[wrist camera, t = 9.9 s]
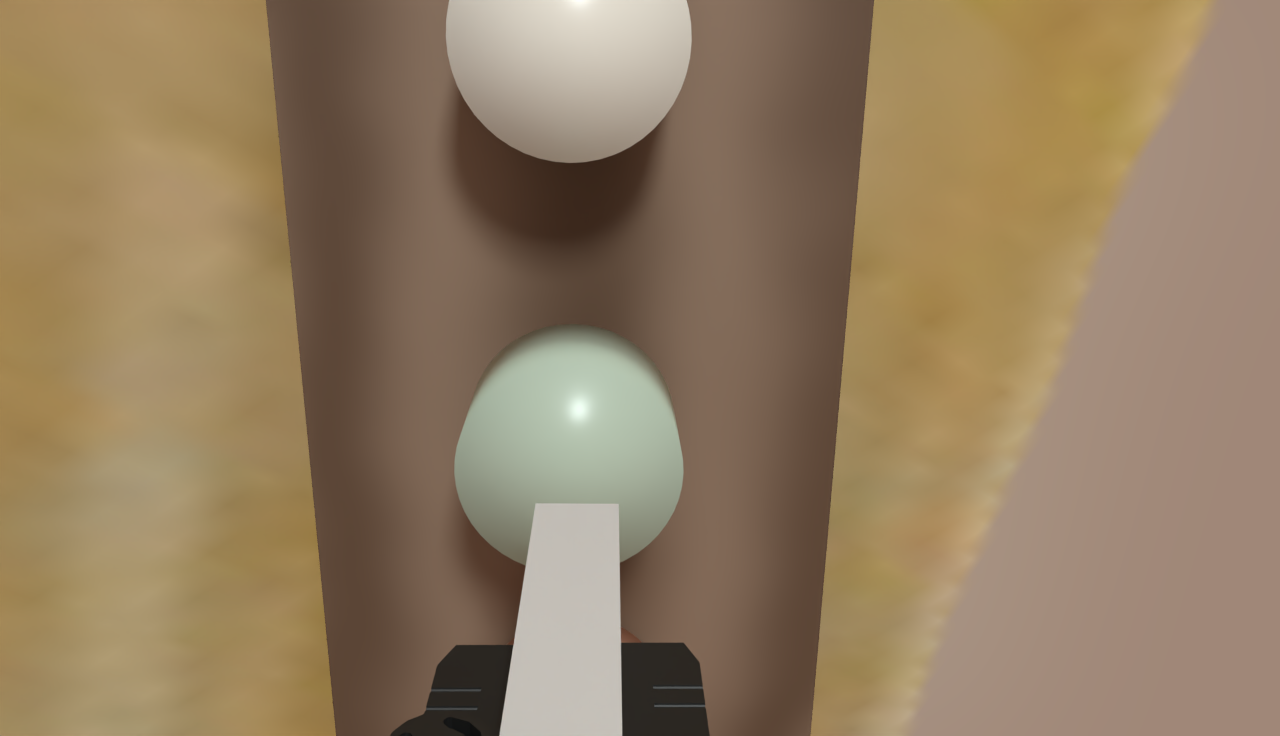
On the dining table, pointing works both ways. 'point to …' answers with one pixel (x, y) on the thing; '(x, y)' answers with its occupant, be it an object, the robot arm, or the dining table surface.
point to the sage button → (569, 437)
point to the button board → (572, 294)
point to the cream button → (569, 70)
